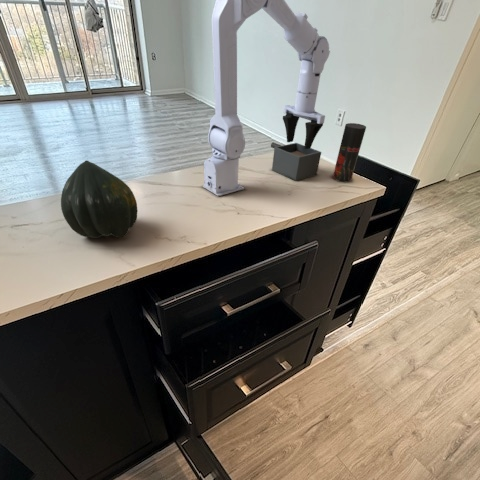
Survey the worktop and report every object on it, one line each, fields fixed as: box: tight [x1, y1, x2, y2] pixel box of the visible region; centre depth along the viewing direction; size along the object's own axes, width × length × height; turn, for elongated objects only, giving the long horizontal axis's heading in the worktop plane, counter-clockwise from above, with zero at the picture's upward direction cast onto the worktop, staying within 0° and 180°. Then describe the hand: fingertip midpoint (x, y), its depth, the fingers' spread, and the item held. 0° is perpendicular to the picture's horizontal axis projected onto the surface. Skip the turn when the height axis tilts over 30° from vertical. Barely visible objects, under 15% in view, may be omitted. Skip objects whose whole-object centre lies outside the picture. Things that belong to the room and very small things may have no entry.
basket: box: [270, 141, 322, 182], centre depth 104 cm, size 10×17×7 cm, turn 39°
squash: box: [60, 159, 139, 239], centre depth 68 cm, size 14×15×15 cm
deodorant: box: [332, 122, 367, 183], centre depth 98 cm, size 6×6×15 cm
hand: (298, 145), depth 99 cm, fingers open, 7 cm apart
